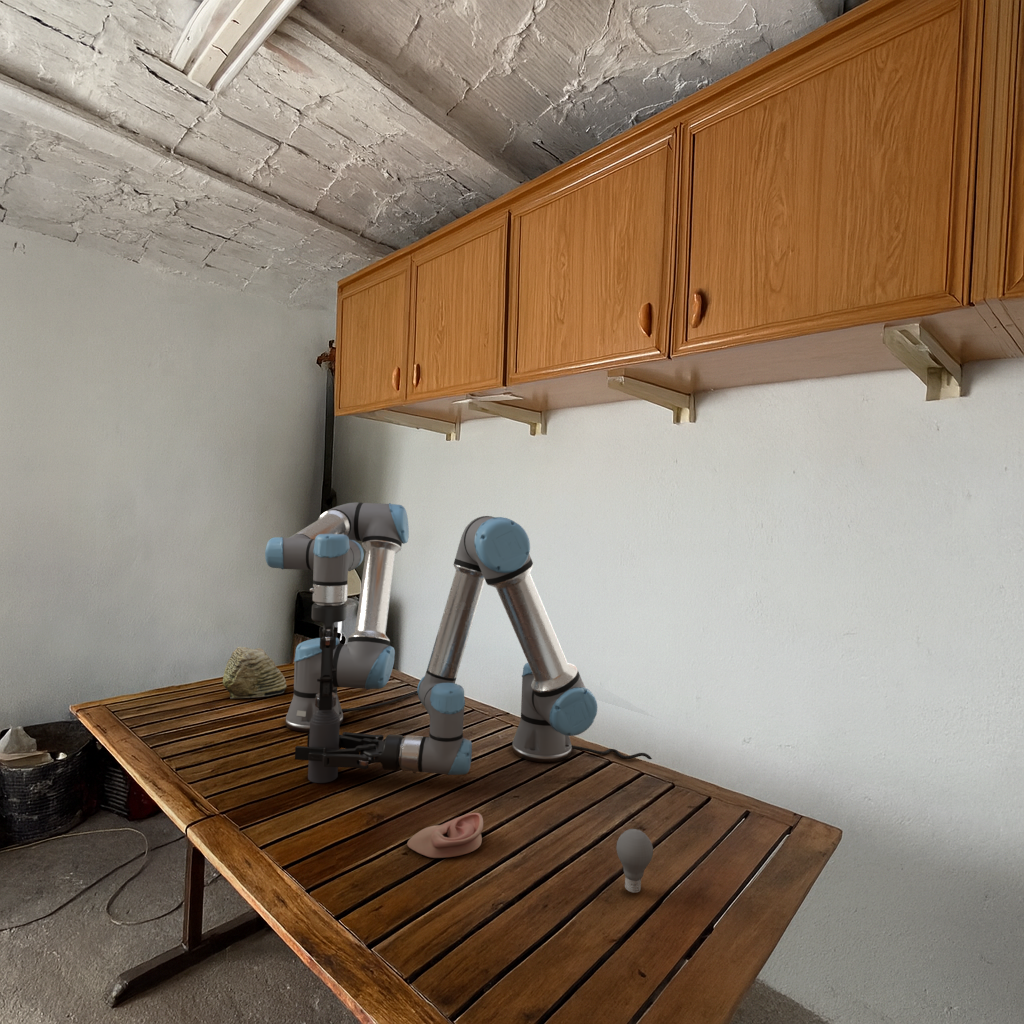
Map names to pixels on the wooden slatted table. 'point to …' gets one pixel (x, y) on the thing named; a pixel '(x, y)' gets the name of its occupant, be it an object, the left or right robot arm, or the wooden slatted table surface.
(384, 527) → the left robot arm
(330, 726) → the bottle
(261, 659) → the fossil
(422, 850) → the anatomical model
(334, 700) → the cap
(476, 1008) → the wooden slatted table surface
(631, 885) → the light bulb
